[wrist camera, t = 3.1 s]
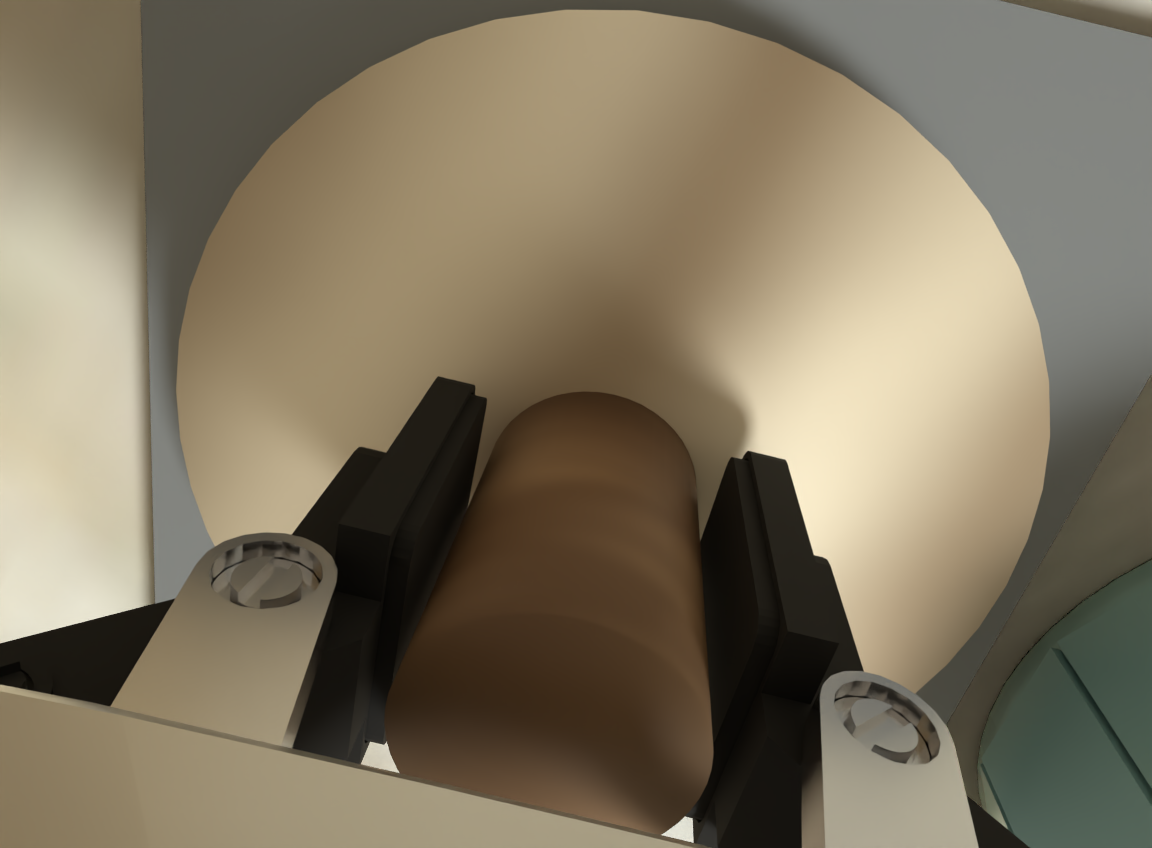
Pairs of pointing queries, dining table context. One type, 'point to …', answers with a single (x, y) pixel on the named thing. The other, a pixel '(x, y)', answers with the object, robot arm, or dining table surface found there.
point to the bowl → (1078, 728)
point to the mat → (794, 20)
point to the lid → (620, 373)
